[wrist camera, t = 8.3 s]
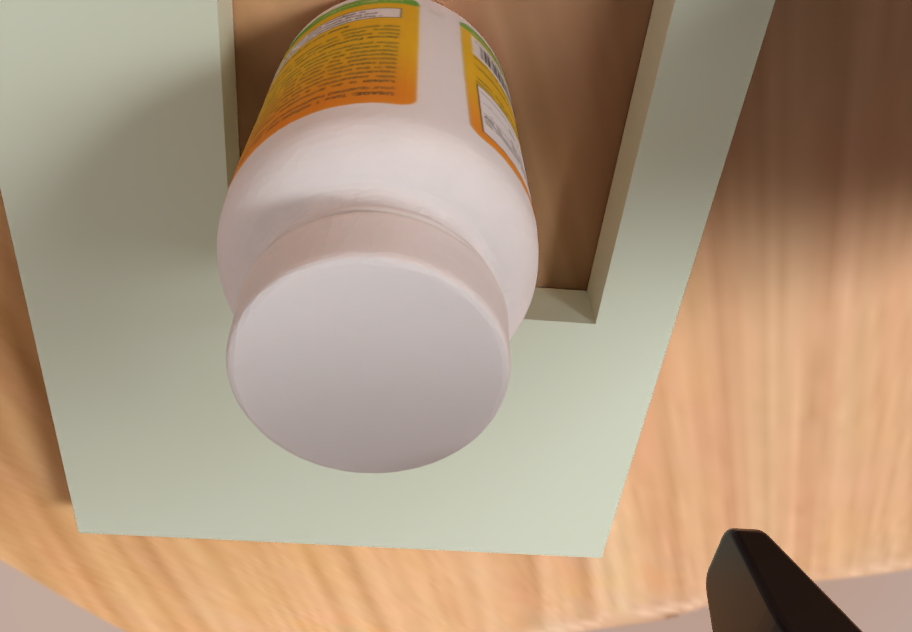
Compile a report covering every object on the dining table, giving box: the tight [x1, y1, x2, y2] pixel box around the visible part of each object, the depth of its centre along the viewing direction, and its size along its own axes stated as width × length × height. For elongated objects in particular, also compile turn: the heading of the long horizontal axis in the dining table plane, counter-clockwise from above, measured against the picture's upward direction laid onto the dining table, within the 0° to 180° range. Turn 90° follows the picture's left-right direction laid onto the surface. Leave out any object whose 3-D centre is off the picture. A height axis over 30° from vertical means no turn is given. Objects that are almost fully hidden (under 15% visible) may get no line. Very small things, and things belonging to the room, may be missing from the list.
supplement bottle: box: [217, 0, 539, 473], centre depth 16 cm, size 5×5×10 cm
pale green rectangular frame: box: [0, 0, 775, 558], centre depth 22 cm, size 16×18×2 cm
